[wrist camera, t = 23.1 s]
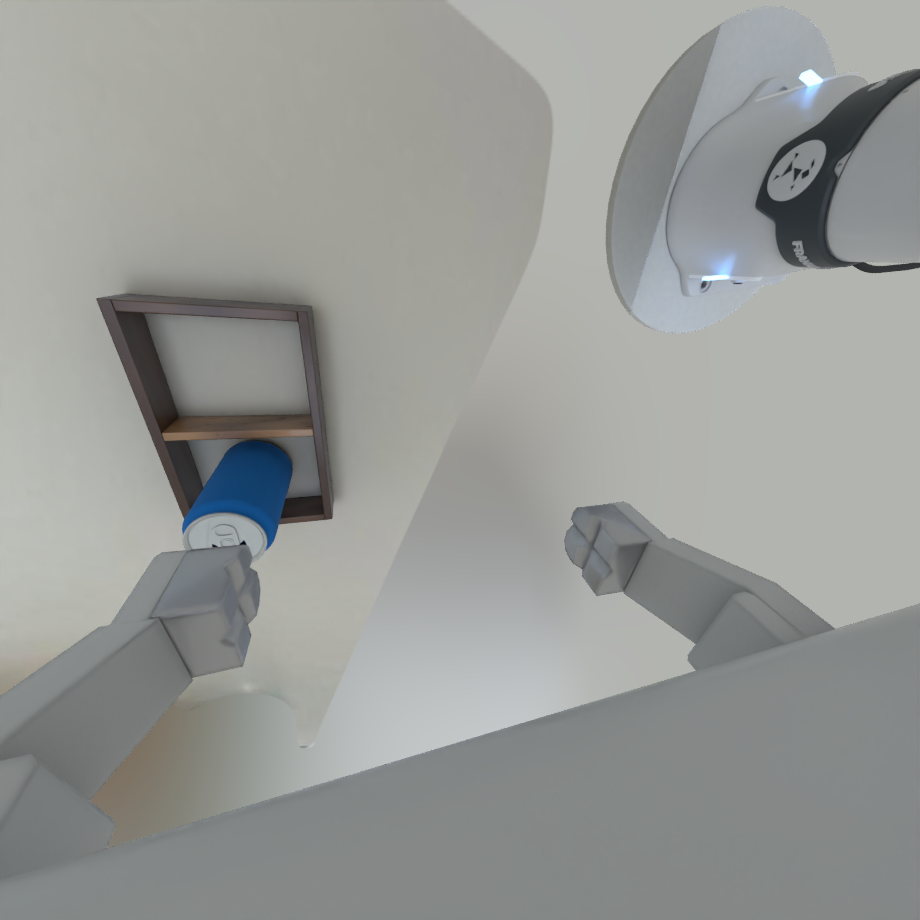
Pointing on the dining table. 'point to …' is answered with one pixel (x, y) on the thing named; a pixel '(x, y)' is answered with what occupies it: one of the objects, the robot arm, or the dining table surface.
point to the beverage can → (241, 500)
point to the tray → (175, 431)
